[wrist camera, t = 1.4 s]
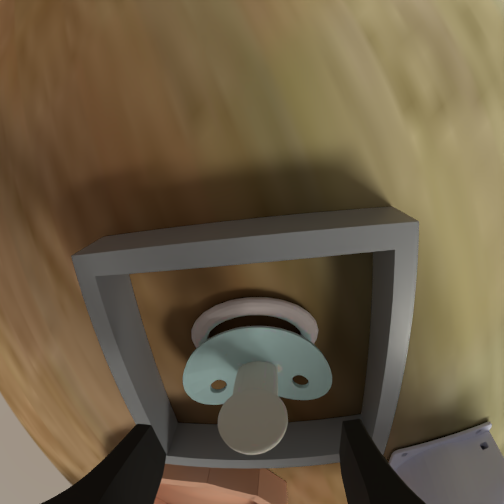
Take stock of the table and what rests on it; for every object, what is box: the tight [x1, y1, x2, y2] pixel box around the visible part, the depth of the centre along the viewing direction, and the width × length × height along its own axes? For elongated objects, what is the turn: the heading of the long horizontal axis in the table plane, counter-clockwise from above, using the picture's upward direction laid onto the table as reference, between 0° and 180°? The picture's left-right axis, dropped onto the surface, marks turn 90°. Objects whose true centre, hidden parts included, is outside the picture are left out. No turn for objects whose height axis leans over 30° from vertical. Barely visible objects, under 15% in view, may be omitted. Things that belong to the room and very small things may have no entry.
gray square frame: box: [71, 207, 419, 468], centre depth 15 cm, size 14×14×3 cm
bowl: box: [154, 464, 288, 504], centre depth 20 cm, size 14×14×3 cm
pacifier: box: [183, 297, 332, 455], centre depth 13 cm, size 7×6×6 cm
